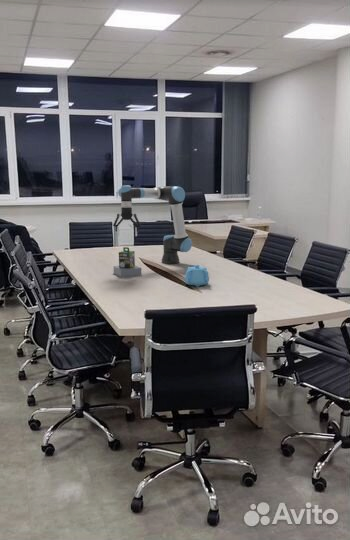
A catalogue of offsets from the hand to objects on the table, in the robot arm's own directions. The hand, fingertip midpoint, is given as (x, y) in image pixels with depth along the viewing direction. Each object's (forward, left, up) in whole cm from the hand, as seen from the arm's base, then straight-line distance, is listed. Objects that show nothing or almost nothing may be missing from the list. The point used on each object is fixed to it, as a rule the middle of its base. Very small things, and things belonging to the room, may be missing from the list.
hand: (127, 236), depth 362 cm
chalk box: (0, -1, -23) cm, 23 cm away
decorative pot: (+60, +16, -29) cm, 68 cm away
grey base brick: (+1, -1, -29) cm, 29 cm away
